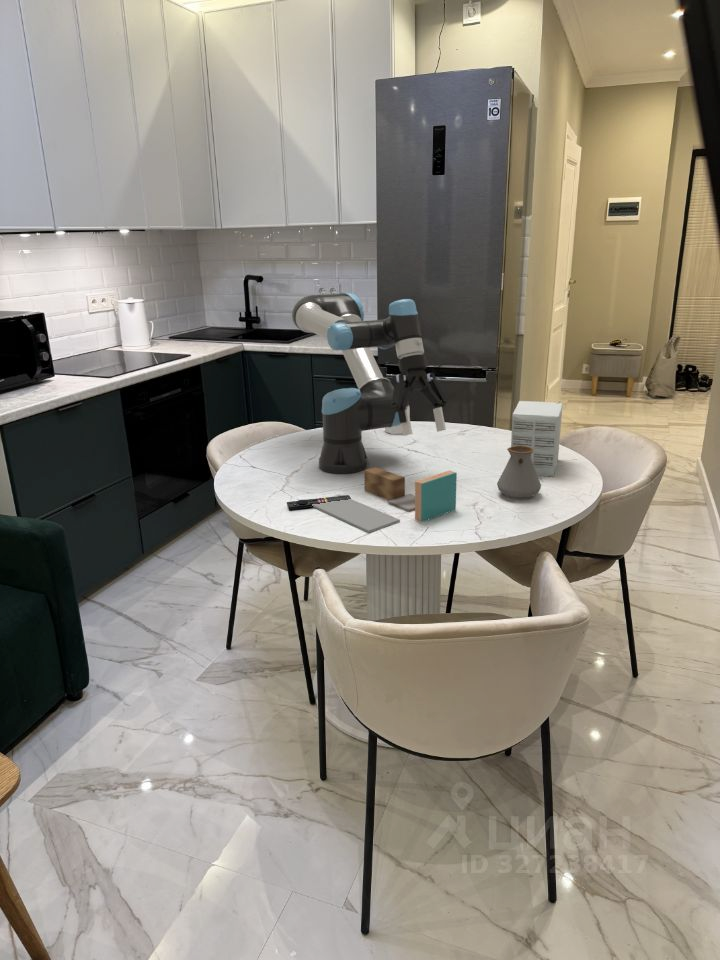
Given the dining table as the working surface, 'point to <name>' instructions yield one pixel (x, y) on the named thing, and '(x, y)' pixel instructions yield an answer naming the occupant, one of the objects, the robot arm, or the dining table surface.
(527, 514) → the dining table surface
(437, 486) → the tile
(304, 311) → the robot arm
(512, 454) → the coffee pot
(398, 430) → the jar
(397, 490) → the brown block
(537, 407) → the supplement box
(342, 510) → the rest mat
